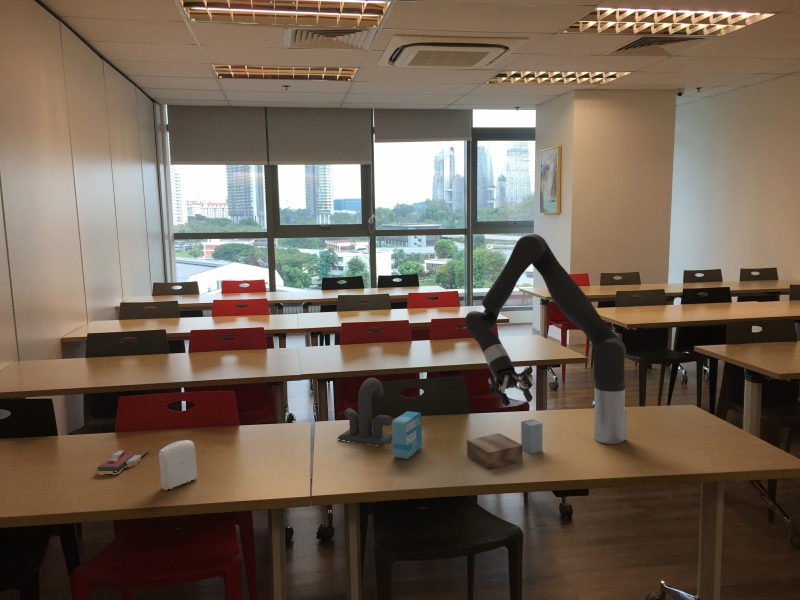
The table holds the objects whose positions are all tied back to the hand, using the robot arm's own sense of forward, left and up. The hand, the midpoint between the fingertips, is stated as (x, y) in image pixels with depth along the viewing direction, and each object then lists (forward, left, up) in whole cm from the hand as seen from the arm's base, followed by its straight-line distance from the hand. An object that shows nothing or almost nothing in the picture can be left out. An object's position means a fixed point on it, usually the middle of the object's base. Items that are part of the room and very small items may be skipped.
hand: (519, 403), depth 198 cm
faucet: (+39, -31, -14) cm, 51 cm away
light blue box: (+35, -11, -14) cm, 39 cm away
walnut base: (+14, +6, -13) cm, 20 cm away
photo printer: (+102, -22, -14) cm, 105 cm away
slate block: (0, +6, -13) cm, 15 cm away
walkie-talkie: (+116, -47, -14) cm, 125 cm away
